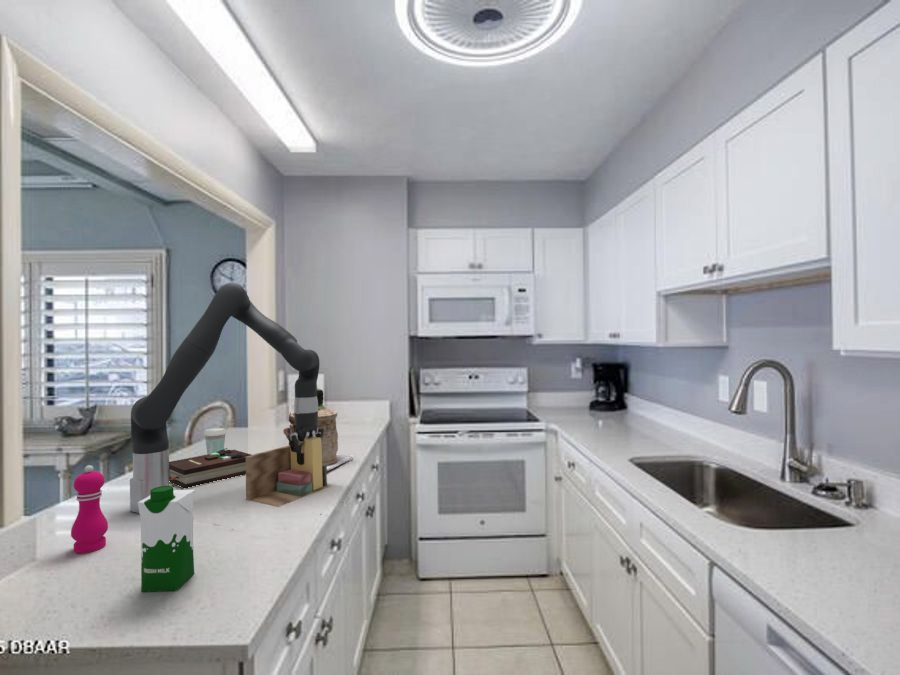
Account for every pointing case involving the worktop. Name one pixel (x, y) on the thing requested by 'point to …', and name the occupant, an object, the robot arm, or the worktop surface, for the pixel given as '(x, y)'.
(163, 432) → the robot arm
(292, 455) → the ochre book
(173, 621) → the worktop surface
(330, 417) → the cookie jar
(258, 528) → the worktop surface
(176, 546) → the milk carton
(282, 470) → the shelf
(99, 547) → the pepper mill
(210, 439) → the coffee cup
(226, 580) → the worktop surface
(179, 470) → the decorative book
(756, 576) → the worktop surface
